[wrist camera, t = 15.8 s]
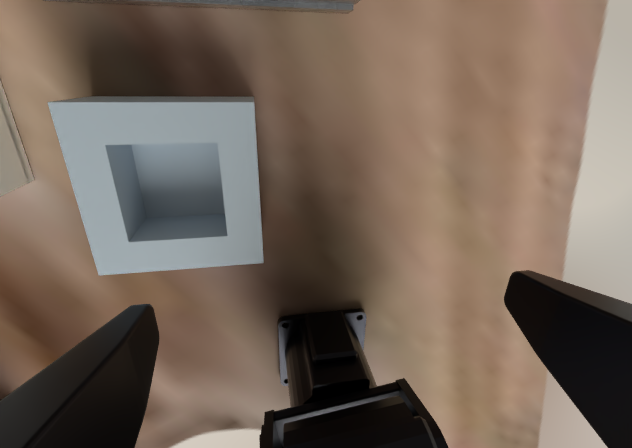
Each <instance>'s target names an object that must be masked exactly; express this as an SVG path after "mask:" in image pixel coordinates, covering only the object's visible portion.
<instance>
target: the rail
mask: <svg viewBox="0 0 632 448" xmlns="http://www.w3.org/2000/svg"><path fill="white" fill-rule="evenodd" d="M44 1H66V2H89V3H113V4H136V5H160V6H183V7H206V8H230V9H253V10H277V11H300V12H324V13H347V14H348V13H350V12H351V11H353V5H355V4H356V3H358V2H359V1H360V0H44Z"/></svg>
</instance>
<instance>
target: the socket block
mask: <svg viewBox="0 0 632 448" xmlns="http://www.w3.org/2000/svg"><path fill="white" fill-rule="evenodd" d="M48 106H49V109H50V112H51V116H52V119H53V122H54V126H55V129H56V133H57V136H58V139H59V143H60V146H61V149H62V153H63V156H64V160H65V163H66V166H67V170H68V173H69V176H70V180H71V183H72V187H73V190H74V193H75V197H76V200H77V203H78V207H79V210H80V214H81V217H82V220H83V224H84V227H85V230H86V234H87V237H88V241H89V244H90V247H91V251H92V254H93V257H94V261H95V264H96V268H97V271H98V274H99V275H111V274H124V273H137V272H151V271H164V270H177V269H191V268H204V267H218V266H231V265H244V264H258V263H264V260H263V241H262V223H261V206H260V189H259V173H258V156H257V139H256V122H255V105H254V97H222V96H90V97H82V98H75V99H68V100H61V101H53V102H48Z"/></svg>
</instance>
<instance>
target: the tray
mask: <svg viewBox="0 0 632 448" xmlns="http://www.w3.org/2000/svg"><path fill="white" fill-rule="evenodd" d="M32 181H34V177H33V174H32V171H31V168H30V165H29V162H28V159H27V156H26V153H25V150H24V147H23V145H22V142H21V139H20V136H19V133H18V130H17V127H16V124H15V121H14V118H13V115H12V112H11V109H10V107H9V104H8V101H7V98H6V95H5V92H4V89H3V86H2V83H1V80H0V197H1V196H3V195H5V194H7V193H9V192H11V191H13V190H15V189H17V188H19V187H21V186H23V185H25V184H28V183H30V182H32Z"/></svg>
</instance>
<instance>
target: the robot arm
mask: <svg viewBox="0 0 632 448" xmlns="http://www.w3.org/2000/svg"><path fill="white" fill-rule="evenodd" d="M504 302H505V305H506V307H507V309H508V311H509V312H510V314H511V315H512V317H513V318H514V320H515V321H516V323H517V325H518V326H519V328H520V329H521V331H522V332H523V334H524V336H525V337H526V339H527V340H528V342H529V343H530V345H531V347H532V348H533V350H534V351H535V353H536V354H537V356H538V357H539V358H540V360H541V361H542V362H543V364H544V365H545V366H546V368H547V369H548V370H549V372H550V373H551V374H552V376H553V377H554V378H555V379H556V381H557V382H558V383H559V385H560V386H561V387H562V389H563V390H564V391H565V392H566V394H567V395H568V396H569V398H570V399H571V400H572V402H573V403H574V404H575V405H576V407H577V408H578V409H579V411H580V412H581V413H582V415H583V416H584V417H585V418H586V420H587V421H588V422H589V424H590V425H591V426H592V428H593V429H594V430H595V431H596V433H597V434H598V435H599V437H600V438H601V439H602V440H603V442H604V443H605V445H606V446H607V447H608V448H632V304H630V303H627V302H624V301H621V300H618V299H615V298H612V297H609V296H606V295H602V294H600V293H597V292H593V291H591V290H588V289H585V288H582V287H579V286H575V285H572V284H569V283H566V282H563V281H560V280H557V279H554V278H551V277H548V276H545V275H542V274H539V273H536V272H533V271H529V270H526V271H516V272H513V273H512V274H511V276H510V279H509V282H508V286H507V289H506V292H505V296H504ZM358 315H361V316H359V317H357V316H358ZM283 323H287V324H285V325H284V324H283ZM365 326H366V314H365V312H364V310H362V309H352V310H342V311H332V312H322V313H312V314H302V315H292V316H284V317H281V318H280V319H279V320H278V335H279V358H280V380H281V384H282V385H284V386H288V387H289V396H290V405H291V408H287V409H283V410H278V411H274V410H271V411H267V412H265V418H264V425H262V430H261V435H260V448H448V445H447V443H446V441H445V439H444V436H443V434H442V433H441V431H440V429H439V427H438V425H437V424H436V422H435V421H434V419H433V418H432V416H431V415H430V414H429V412H428V411H427V409H426V408H425V407H424V405H423V404H422V402H421V401H420V400H419V398H418V397H417V395H416V394H415V392H414V391H413V390H412V388H411V387H410V385H409V384H408V383H407V381H406V380H405V379H404V378H403V379H399V380H396V382H393V383H389V384H385V385H381V386H377V385H376V382H375V380H374V377H373V375H372V372H371V370H370V367H369V365H368V362H367V360H366V357H365V355H364V352H363V348H364V337H365ZM158 345H159V331H158V326H157V322H156V317H155V313H154V309H153V307H152V306H151V305H150V304H142V305H132V306H130V307H128V308H127V309H126V310H124V311H123V312H121V313H120V314H119V315H117V316H116V317H115V318H113V319H112V320H110V321H109V322H108V323H106V324H105V325H104V326H102V327H101V328H99V329H98V330H97V331H95V332H94V333H93V334H91V335H90V336H88V337H87V338H86V339H84V340H83V341H82V342H80V343H79V344H78V345H76V346H75V347H73V348H72V349H71V350H69V351H68V352H67V353H65V354H64V355H62V356H61V357H60V358H58V359H57V360H56V361H54V362H53V363H51V364H50V365H49V366H47V367H46V368H45V369H43V370H42V371H40V372H39V373H38V374H36V375H35V376H34V377H32V378H31V379H29V380H28V381H27V382H25V383H24V384H23V385H21V386H20V387H18V388H17V389H16V390H14V391H13V392H12V393H10V394H9V395H7V396H6V397H5V398H3V399H2V400H1V401H0V448H135V444H136V441H137V438H138V435H139V431H140V428H141V425H142V422H143V418H144V415H145V411H146V407H147V403H148V398H149V393H150V387H151V382H152V377H153V372H154V366H155V361H156V356H157V351H158Z"/></svg>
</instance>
